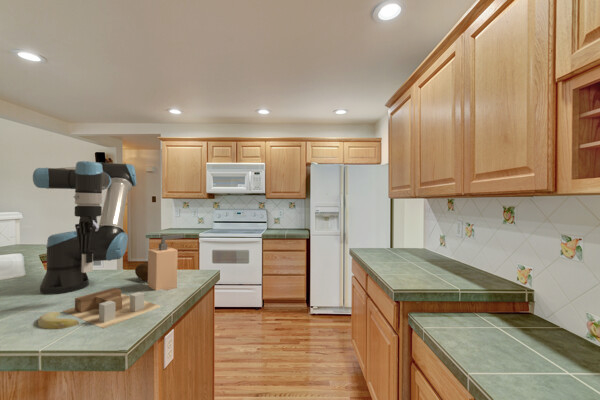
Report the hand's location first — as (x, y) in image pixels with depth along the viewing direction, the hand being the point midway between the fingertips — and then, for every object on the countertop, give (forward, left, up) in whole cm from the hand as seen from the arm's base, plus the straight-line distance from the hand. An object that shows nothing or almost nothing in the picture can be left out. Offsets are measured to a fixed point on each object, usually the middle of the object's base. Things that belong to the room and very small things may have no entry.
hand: (87, 271), depth 94 cm
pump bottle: (+8, +26, -12) cm, 30 cm away
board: (+15, +1, -12) cm, 19 cm away
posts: (+22, 0, -11) cm, 24 cm away
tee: (+12, 0, -11) cm, 16 cm away
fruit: (+11, -11, -12) cm, 20 cm away
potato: (-8, +28, -12) cm, 32 cm away
